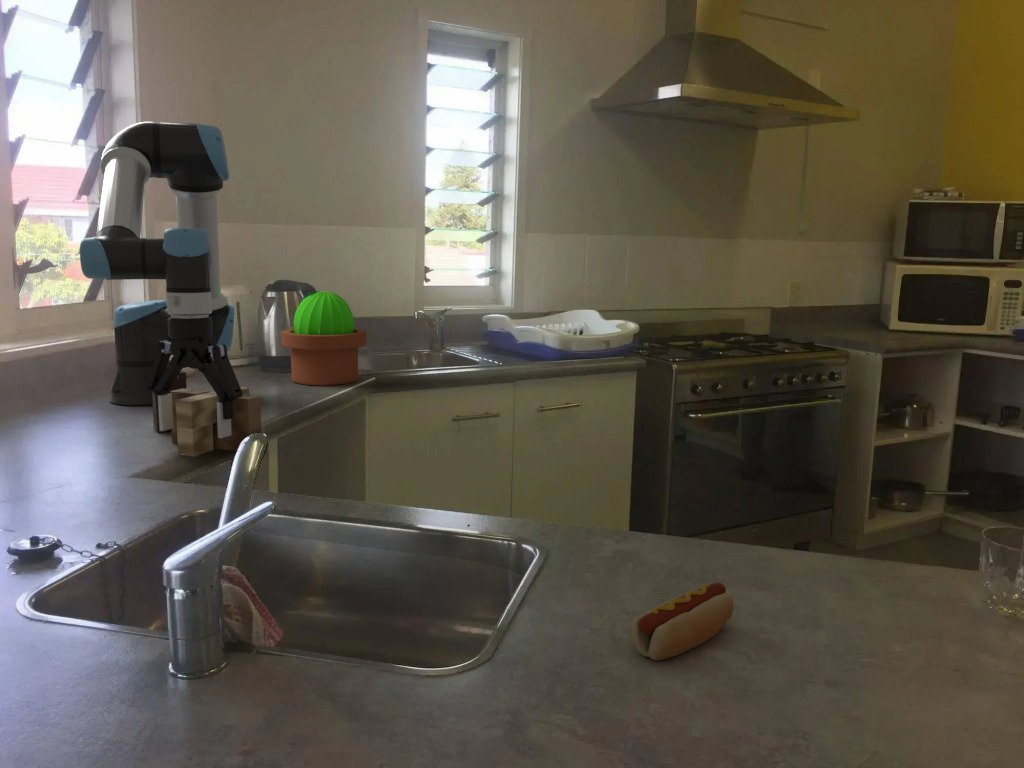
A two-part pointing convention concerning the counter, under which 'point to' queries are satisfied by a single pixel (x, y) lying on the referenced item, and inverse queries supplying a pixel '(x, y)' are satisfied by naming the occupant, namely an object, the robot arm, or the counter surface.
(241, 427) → the notched wooden block
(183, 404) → the arched wooden block
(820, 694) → the counter surface
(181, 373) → the box
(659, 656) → the food
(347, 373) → the potted cactus
